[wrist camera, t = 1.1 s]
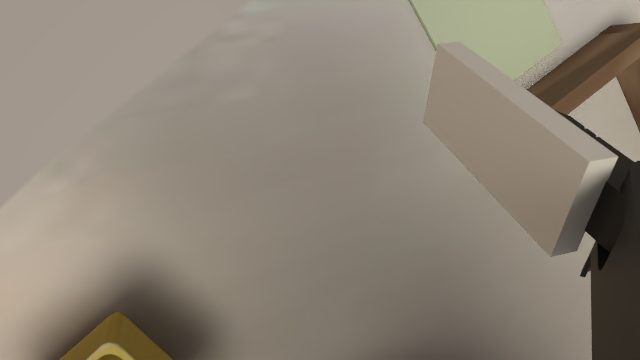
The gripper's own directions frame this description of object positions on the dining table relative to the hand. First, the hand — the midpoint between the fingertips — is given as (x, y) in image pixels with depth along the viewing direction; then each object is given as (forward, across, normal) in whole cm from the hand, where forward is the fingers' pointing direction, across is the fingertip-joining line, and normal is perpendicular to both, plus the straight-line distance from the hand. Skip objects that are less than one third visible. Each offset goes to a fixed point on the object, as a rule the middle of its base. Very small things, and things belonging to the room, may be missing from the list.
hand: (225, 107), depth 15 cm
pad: (+18, -22, +5) cm, 29 cm away
